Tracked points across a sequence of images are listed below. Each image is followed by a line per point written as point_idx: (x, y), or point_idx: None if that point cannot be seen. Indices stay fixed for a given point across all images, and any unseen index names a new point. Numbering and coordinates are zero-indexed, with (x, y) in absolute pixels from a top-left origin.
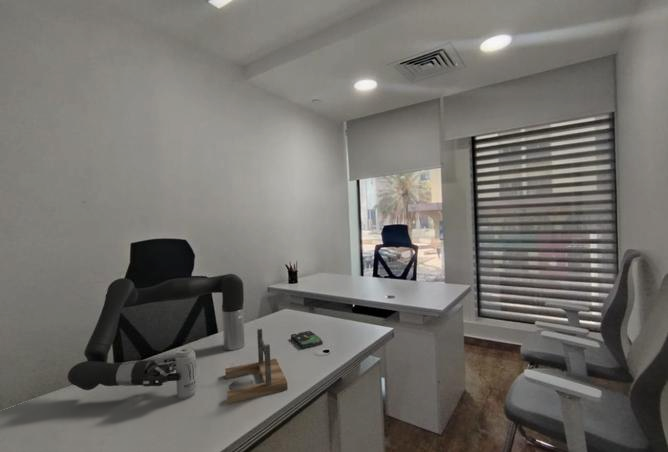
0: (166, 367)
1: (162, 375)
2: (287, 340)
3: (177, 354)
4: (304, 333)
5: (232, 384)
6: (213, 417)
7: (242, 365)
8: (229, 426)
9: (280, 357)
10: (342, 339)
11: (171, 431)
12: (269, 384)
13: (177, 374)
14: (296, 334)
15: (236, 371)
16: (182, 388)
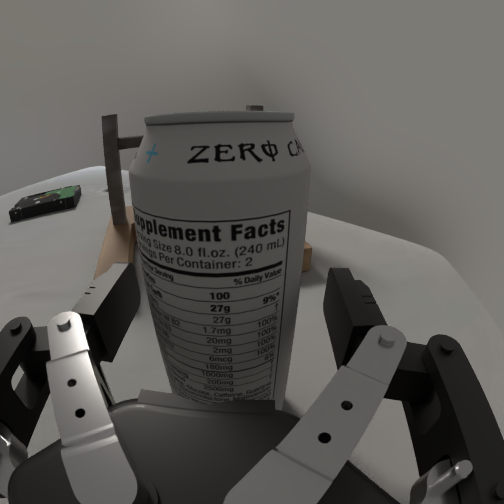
0: (180, 411)
1: (400, 360)
2: (11, 224)
3: (271, 135)
4: (25, 200)
5: None
6: (377, 282)
7: (105, 247)
8: (394, 254)
9: (82, 224)
10: (84, 183)
11: (463, 344)
12: None
13: (349, 276)
14: (17, 206)
15: (129, 260)
16: (289, 365)
